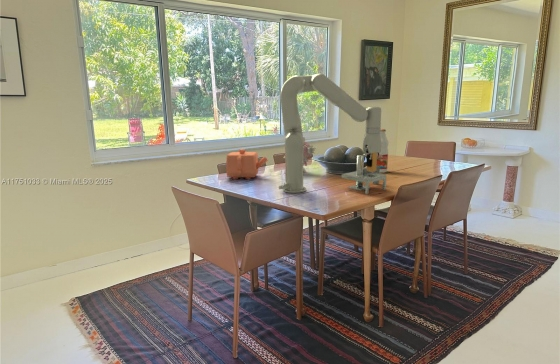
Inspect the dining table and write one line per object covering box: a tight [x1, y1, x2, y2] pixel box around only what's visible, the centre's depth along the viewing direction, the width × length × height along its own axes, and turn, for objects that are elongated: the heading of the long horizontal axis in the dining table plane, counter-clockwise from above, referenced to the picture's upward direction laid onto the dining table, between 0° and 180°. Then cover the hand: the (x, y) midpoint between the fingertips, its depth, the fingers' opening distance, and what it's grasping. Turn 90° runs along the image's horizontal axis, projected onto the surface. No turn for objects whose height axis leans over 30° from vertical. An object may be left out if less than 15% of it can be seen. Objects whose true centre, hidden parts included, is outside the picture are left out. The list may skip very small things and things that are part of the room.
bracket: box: [363, 166, 380, 185], centre depth 210 cm, size 14×2×10 cm, turn 129°
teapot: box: [225, 148, 269, 180], centre depth 235 cm, size 25×23×18 cm
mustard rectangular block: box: [366, 152, 377, 172], centre depth 196 cm, size 4×4×12 cm
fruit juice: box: [377, 128, 389, 174], centre depth 246 cm, size 9×9×28 cm
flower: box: [282, 136, 316, 173], centre depth 246 cm, size 20×22×24 cm
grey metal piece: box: [341, 154, 387, 195], centre depth 202 cm, size 16×18×18 cm
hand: (371, 165), depth 197 cm, fingers closed on mustard rectangular block, 3 cm apart
